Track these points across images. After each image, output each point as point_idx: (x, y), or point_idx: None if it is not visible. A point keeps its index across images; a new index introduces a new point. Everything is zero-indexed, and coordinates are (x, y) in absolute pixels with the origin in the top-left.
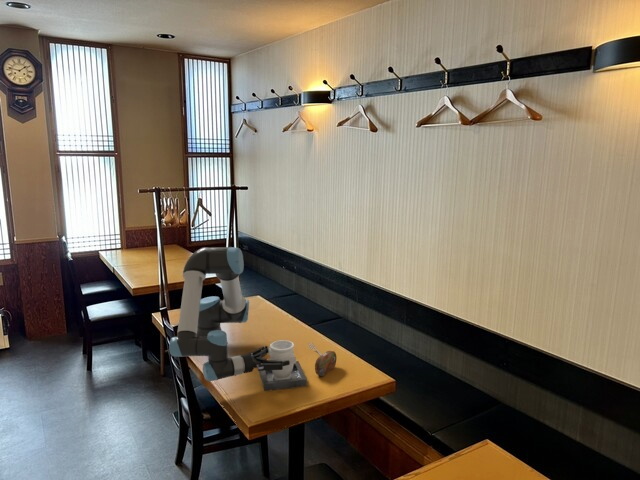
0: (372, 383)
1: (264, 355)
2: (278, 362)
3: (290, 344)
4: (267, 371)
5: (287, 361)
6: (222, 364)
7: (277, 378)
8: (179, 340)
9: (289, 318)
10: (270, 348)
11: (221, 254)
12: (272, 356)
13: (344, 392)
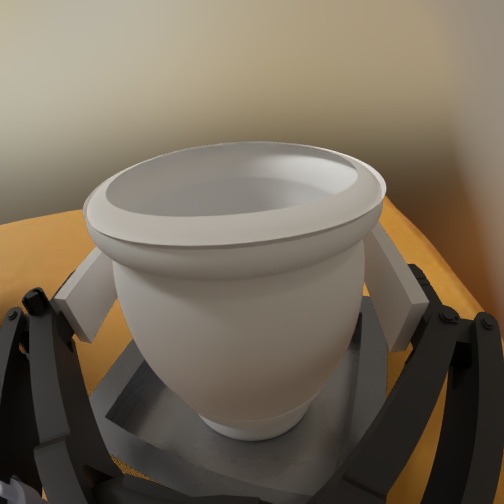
0: (390, 208)
1: (82, 385)
2: (454, 341)
3: (219, 166)
4: (132, 416)
5: (415, 275)
6: None
7: (283, 423)
8: None
9: (18, 222)
10: (75, 288)
11: None
12: (258, 357)
13: (431, 254)
